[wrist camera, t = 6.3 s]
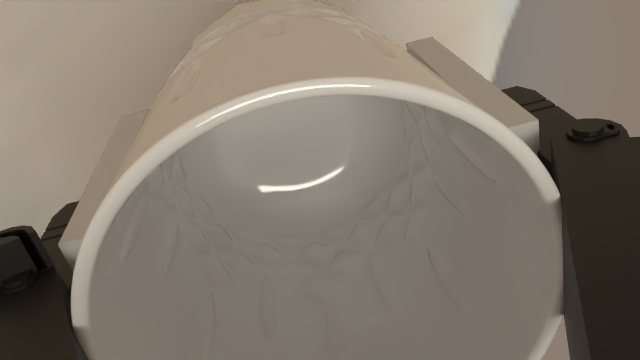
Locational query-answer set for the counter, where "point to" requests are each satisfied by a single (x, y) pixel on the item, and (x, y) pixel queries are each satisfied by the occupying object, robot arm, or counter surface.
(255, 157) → the white cup
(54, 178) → the counter surface
